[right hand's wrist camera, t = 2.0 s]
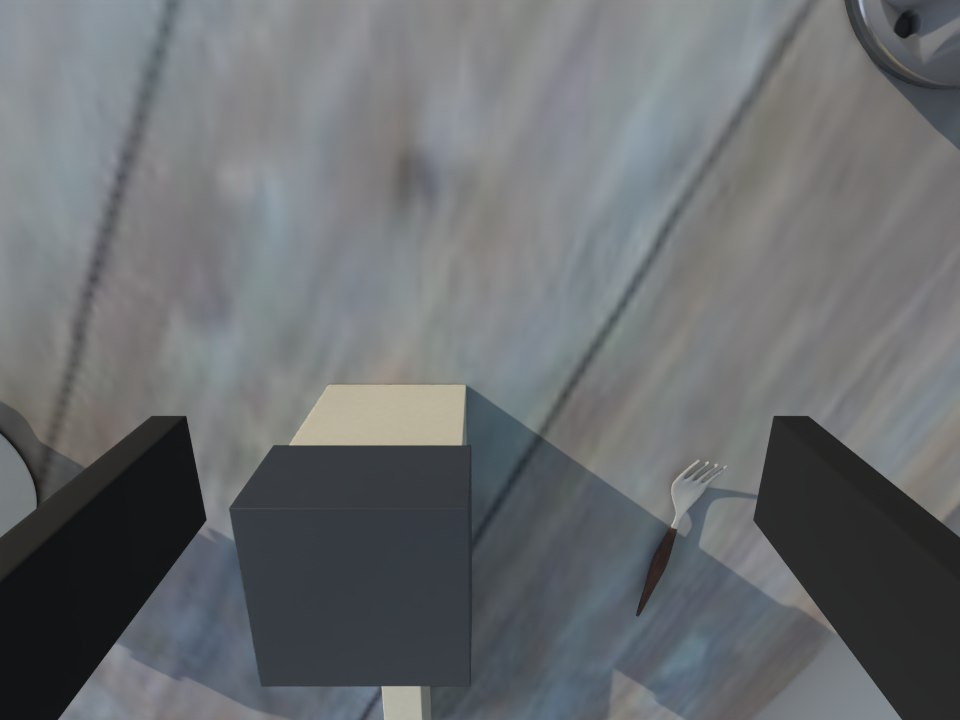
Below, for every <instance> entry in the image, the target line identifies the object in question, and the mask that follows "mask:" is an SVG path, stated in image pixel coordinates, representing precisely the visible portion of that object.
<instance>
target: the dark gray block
mask: <svg viewBox="0 0 960 720" xmlns="http://www.w3.org/2000/svg"><path fill="white" fill-rule="evenodd" d="M229 512H230V517H231V523H232V528H233V534H234V540H235V545H236V551H237V556H238V562H239V567H240V573H241V579H242V584H243V590H244V595H245V601H246V607H247V612H248V618H249V623H250V629H251V634H252V640H253V646H254V651H255V657H256V662H257V668H258V674H259V679H260V685H261V686H470V684H471V628H472V525H471V445H274V446H273V447H272V448H271V450H270V451H269V453H268V454H267V455H266V457H265V458H264V460H263V461H262V462H261V464H260V465H259V467H258V468H257V470H256V471H255V472H254V474H253V475H252V477H251V478H250V479H249V481H248V482H247V484H246V485H245V487H244V488H243V489H242V491H241V492H240V494H239V495H238V496H237V498H236V499H235V501H234V502H233V503H232V505H231V506H230V508H229Z"/></svg>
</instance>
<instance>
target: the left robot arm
mask: <svg viewBox="0 0 960 720" xmlns="http://www.w3.org/2000/svg"><path fill="white" fill-rule="evenodd" d="M36 508H37V498H36V491H35V486H34V483H33V480H32V477H31V475H30V472H29V470H28V468H27V466H26V464H25V463H24V461H23V460H22V458H21V456H20V455H19V454H18V452H17V451H16V450H15V448H14V447H13V446H12V445H11V444H10V443H9V442H8V440H7V439H6V438H5V437H4V436H3V435H2V434H1V433H0V537H1V536H3V535H4V534H5V533H6V532H8V531H9V530H10V529H11V528H13V527H14V526H15V525H16V524H18V523H19V522H20V521H21V520H23V519H24V518H25V517H26V516H28V515H29V514H30V513H31V512H33V511H34V510H35V509H36Z"/></svg>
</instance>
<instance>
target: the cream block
mask: <svg viewBox="0 0 960 720" xmlns="http://www.w3.org/2000/svg"><path fill="white" fill-rule="evenodd" d="M289 445H467V418H466V385H328V386H327V388H326V389H325V391H324V392H323V394H322V396H321V397H320V399H319V400H318V402H317V403H316V405H315V406H314V408H313V409H312V411H311V412H310V414H309V415H308V417H307V418H306V420H305V421H304V423H303V425H302V426H301V428H300V429H299V431H298V432H297V434H296V435H295V437H294V438H293V440H292V441H291V443H290V444H289ZM382 696H383V708H384V720H432V719H431V695H430V686H382Z"/></svg>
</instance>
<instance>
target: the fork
mask: <svg viewBox="0 0 960 720" xmlns="http://www.w3.org/2000/svg"><path fill="white" fill-rule="evenodd" d="M698 462H700V460H697V461H696V462H694V463H693V464H692V465H691V466H689V467H688V468H687V469H686V470H685V471H684V472H683V473H682V474H681V475H680V476H679V477H678V478H677V479H676V480H675V481H674V482H673V484H672V487H671V494H672V499H673V503H674V506H675V511H676V516H675V519H674V521H673V523H672V525H671V527H670V529H669V530H668V532H667V534H666V535H665V537H664V539H663V541H662V542H661V544H660V546H659V548H658V549H657V551H656V553H655V555H654V557H653V560H652V562H651V565H650V569H649V572H648V576H647V580H646V583H645V587H644V590H643V593H642V596H641V599H640V603H639V606H638V609H637V613H636V616H639V615H640V613H641V612H642V610H643V608H644V607H645V605H646V603H647V601H648V599H649V597H650V595H651V593H652V592H653V590H654V588H655V586H656V584H657V583H658V581H659V579H660V577H661V576H662V574H663V572H664V570H665V568H666V565H667V563H668V560H669V557H670V553H671V550H672V546H673V542H674V539H675V535H676V531H677V528H678V525H679V522H680V519H681V518H682V516H683V515H684V513H685V512H686V511H687V510H688V509H689V508H690V507H691V506H692V505H693V504H694V503H695V502H696V501H697V499H698V498H699V497H700V496H701V495H702V494H703V492H704V491H705V490H706V488H707V487H708V485H709V484H710V483H711V482H712V481H713V479H714V478H715V477H717V476H718V475H719V474H720V473H721V472H722V471H723V470H724V469H726V468H727V465H726V466H724V467H723V468H721V469H720V470H719V471H717V472H716V473H715V474H713V475H712V476H711V477H710V478H709V479H707V480H706V481H704V482H702V480H703V479H704V478H705V477H706V476H707V475H708V474H709V473H710V472H711V471H712V470H713V469H714V468H715V467H717V466H718V463H717V464H715V465H714V466H712V467H711V468H710V469H708V470H707V471H706V472H705V473H703V474H702V475H701V476H700V477H699V478H697V479H696V480H693V479H694V477H695V476H696V475H697V474H698V473H699V472H700V471H701V470H702V469H703V468H704V467H705V466H706V465H707V464H709V462H706V463H705V464H703V465H702V466H701V467H700V468H698V469H697V470H696V471H695V472H694V473H692V474H691V475H690V476H689V477H687V478H684V477H685V476H686V474H687V473H688V472H689V471H690V470H691V469H692V468H693V467H694V466H695V465H696V464H697V463H698Z"/></svg>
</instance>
